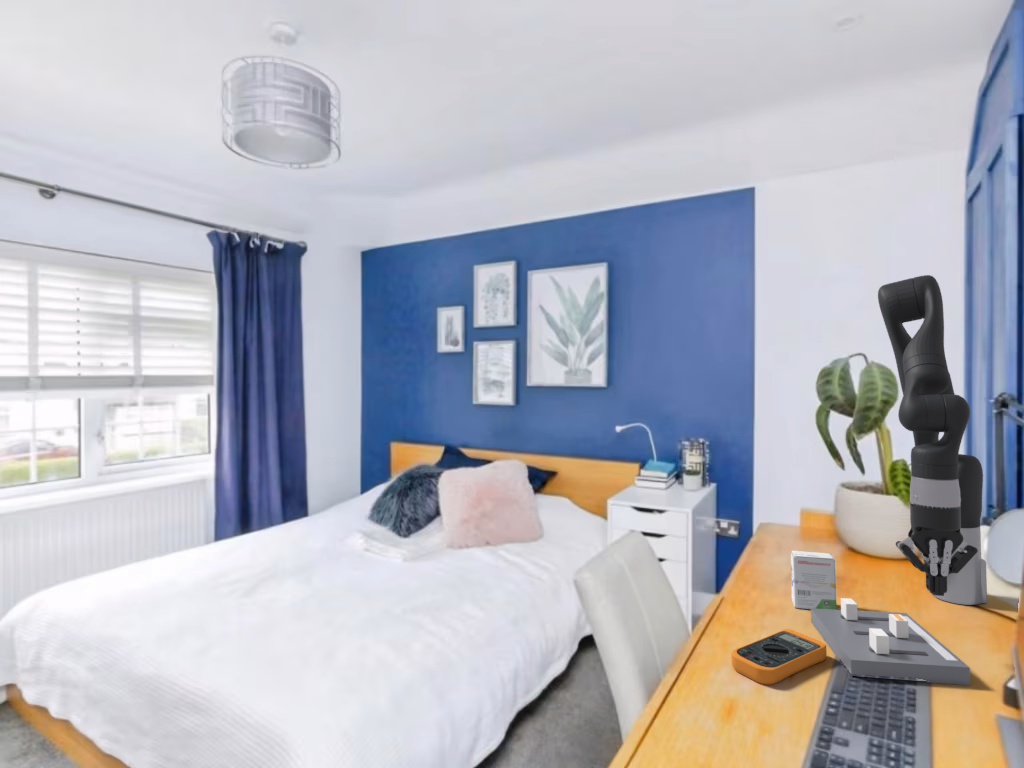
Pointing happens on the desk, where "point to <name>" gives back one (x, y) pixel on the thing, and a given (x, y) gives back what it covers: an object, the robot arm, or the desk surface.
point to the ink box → (813, 580)
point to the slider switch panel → (905, 654)
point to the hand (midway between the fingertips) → (936, 594)
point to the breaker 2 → (879, 641)
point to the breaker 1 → (849, 609)
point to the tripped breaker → (898, 626)
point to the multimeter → (777, 656)
